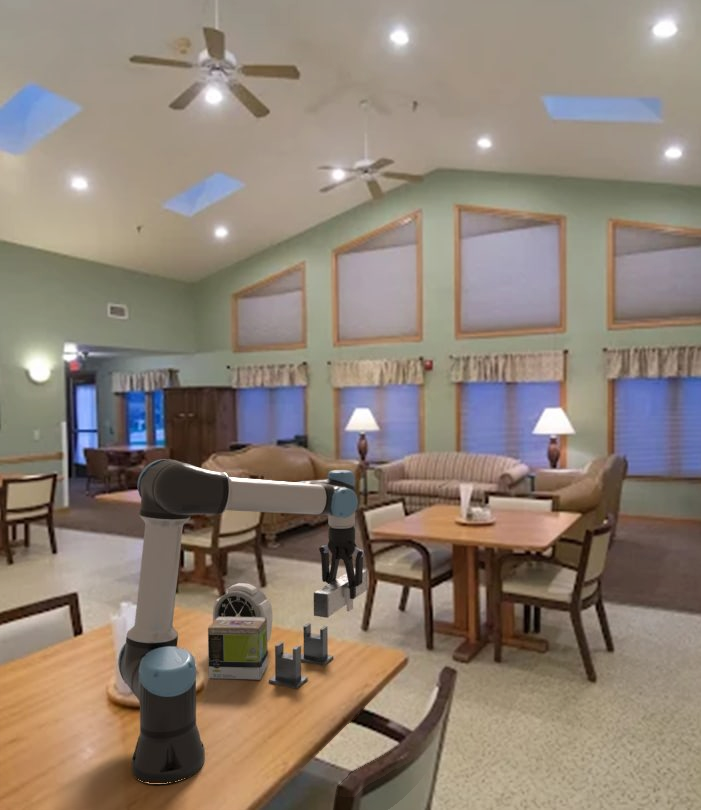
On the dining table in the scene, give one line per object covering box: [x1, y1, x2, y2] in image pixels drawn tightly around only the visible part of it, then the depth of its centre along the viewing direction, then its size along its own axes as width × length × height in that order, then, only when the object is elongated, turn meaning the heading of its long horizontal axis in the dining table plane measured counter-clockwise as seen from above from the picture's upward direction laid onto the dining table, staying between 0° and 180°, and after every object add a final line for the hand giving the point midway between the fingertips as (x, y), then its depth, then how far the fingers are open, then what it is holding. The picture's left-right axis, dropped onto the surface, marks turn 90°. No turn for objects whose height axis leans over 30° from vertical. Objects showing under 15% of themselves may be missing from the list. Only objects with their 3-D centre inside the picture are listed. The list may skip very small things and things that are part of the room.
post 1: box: [268, 641, 309, 690], centre depth 175 cm, size 6×9×10 cm, turn 65°
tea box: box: [207, 617, 269, 681], centre depth 181 cm, size 15×10×15 cm, turn 84°
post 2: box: [301, 623, 334, 667], centre depth 190 cm, size 6×9×10 cm, turn 65°
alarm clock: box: [212, 582, 273, 643], centre depth 198 cm, size 18×8×20 cm, turn 73°
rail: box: [313, 567, 369, 619], centre depth 177 cm, size 26×4×6 cm, turn 155°
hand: (342, 608), depth 177 cm, fingers closed on rail, 4 cm apart
